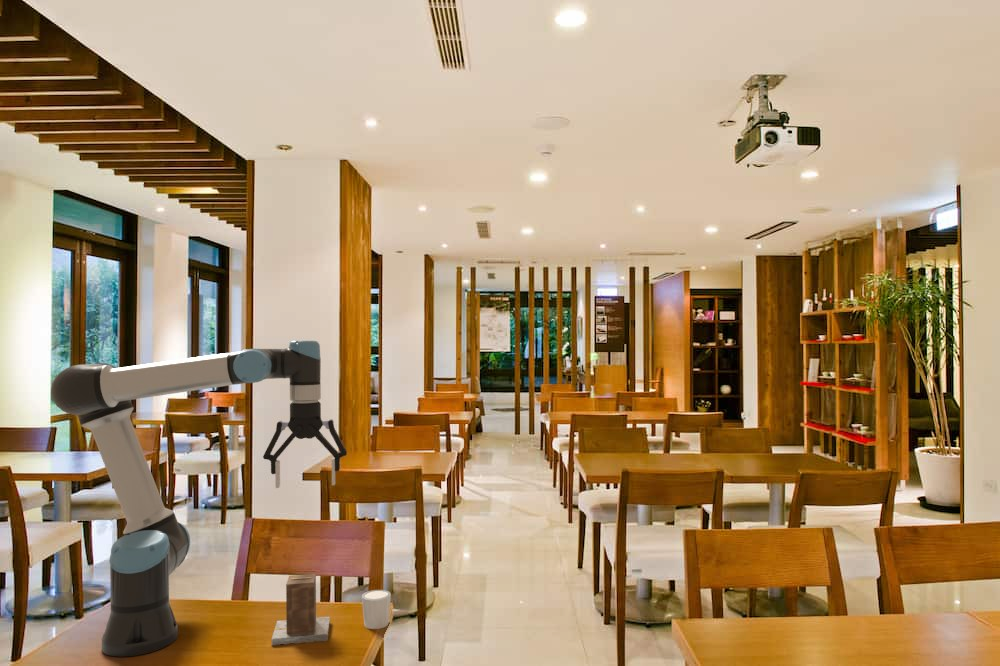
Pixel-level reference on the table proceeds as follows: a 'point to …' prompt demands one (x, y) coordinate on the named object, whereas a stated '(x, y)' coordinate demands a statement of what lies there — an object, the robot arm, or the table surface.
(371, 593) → the white cup
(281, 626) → the grey stand base
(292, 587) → the brown slotted box
